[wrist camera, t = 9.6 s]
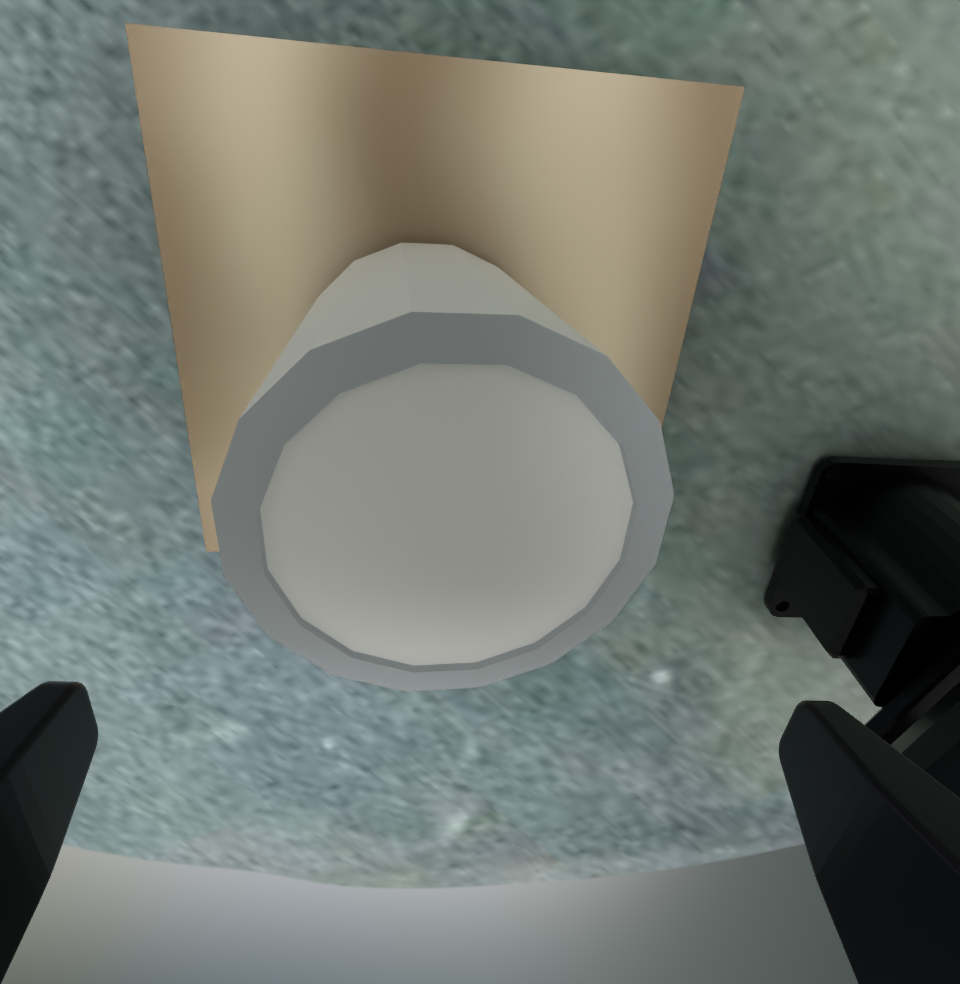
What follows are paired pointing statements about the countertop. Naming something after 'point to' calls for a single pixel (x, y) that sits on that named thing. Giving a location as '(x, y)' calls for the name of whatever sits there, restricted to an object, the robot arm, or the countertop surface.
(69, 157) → the countertop surface
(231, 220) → the birch block
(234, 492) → the shot glass
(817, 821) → the robot arm
